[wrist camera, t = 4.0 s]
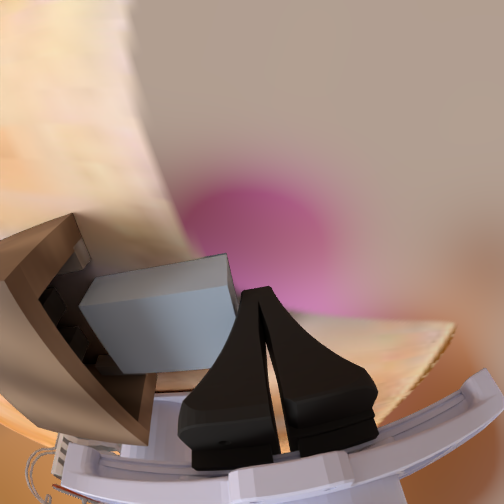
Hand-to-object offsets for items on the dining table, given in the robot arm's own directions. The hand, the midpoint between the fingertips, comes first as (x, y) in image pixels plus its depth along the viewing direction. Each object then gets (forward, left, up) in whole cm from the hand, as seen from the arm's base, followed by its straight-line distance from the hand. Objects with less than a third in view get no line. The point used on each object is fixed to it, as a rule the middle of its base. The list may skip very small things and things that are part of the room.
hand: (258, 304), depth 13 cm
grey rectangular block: (0, +5, -1) cm, 5 cm away
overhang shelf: (0, +13, -1) cm, 13 cm away
